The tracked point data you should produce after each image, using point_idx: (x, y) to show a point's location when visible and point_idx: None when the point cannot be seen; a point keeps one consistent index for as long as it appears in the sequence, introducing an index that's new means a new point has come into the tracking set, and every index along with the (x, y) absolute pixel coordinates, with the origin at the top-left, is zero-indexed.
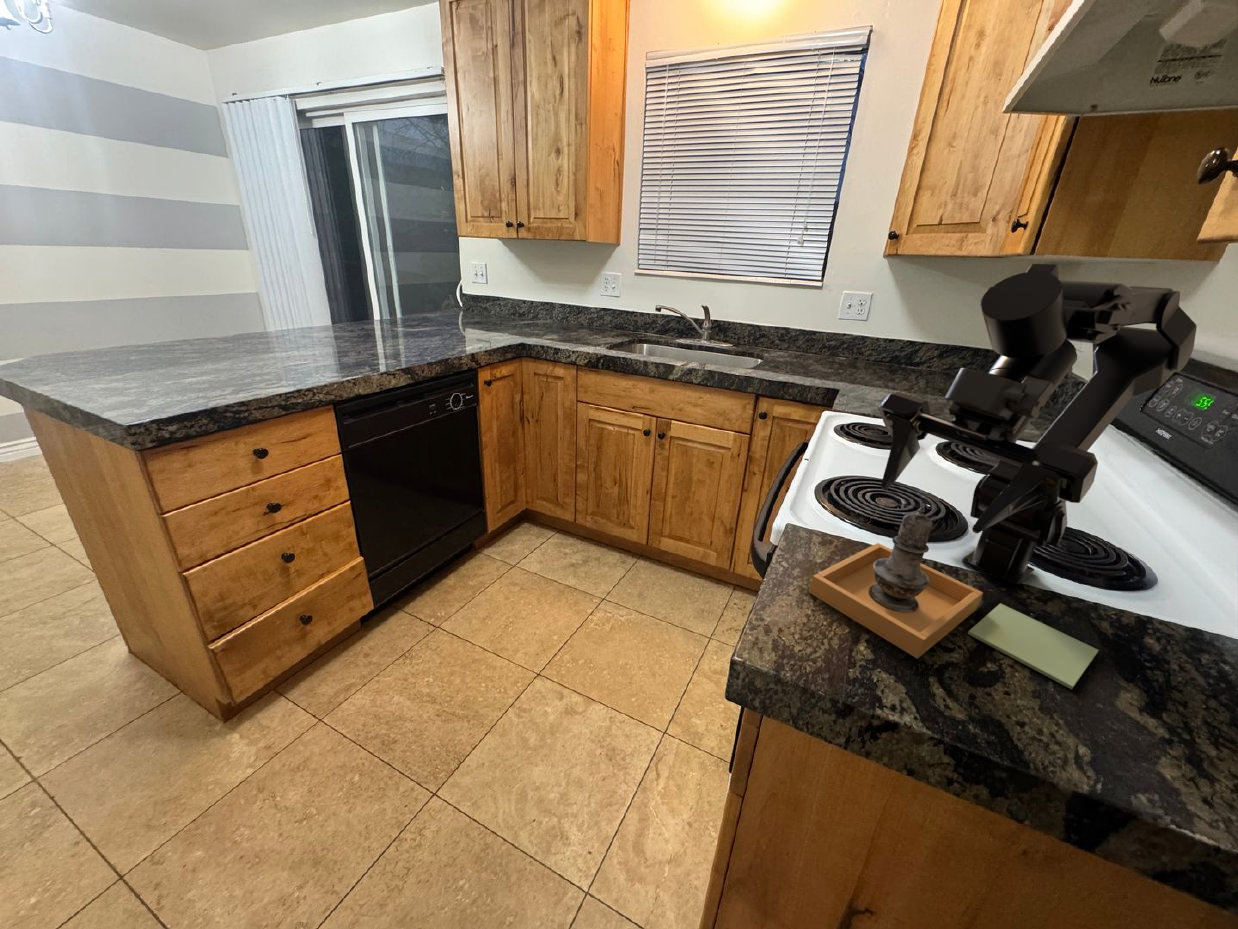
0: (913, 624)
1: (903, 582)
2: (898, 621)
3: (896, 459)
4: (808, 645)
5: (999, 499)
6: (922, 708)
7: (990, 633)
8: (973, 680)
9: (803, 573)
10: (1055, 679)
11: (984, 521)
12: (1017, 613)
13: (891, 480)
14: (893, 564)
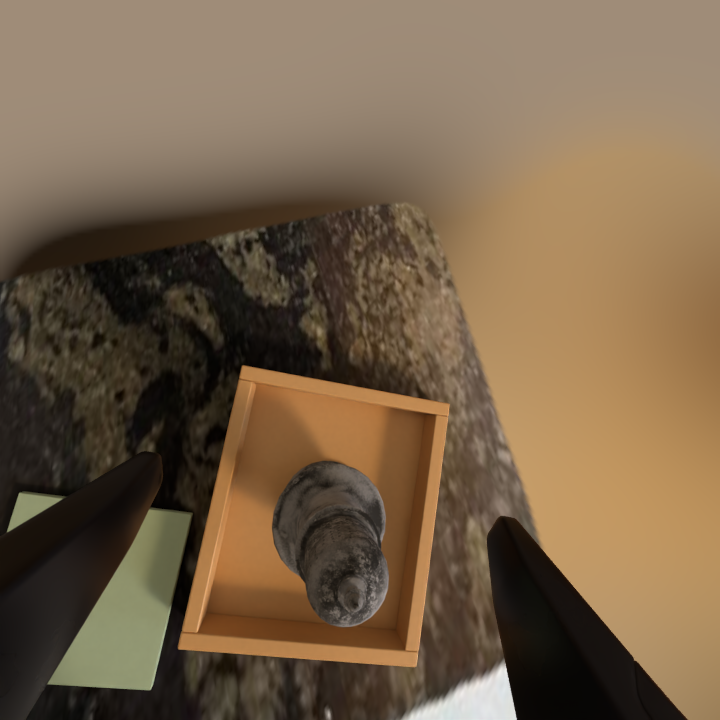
0: (274, 450)
1: (314, 477)
2: (289, 384)
3: (586, 646)
4: (377, 279)
5: (11, 571)
6: (217, 271)
7: (156, 541)
8: (167, 386)
9: (468, 455)
10: (47, 495)
11: (111, 475)
12: (115, 678)
13: (504, 567)
14: (348, 499)
